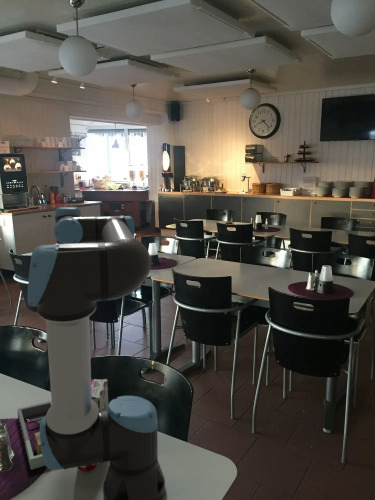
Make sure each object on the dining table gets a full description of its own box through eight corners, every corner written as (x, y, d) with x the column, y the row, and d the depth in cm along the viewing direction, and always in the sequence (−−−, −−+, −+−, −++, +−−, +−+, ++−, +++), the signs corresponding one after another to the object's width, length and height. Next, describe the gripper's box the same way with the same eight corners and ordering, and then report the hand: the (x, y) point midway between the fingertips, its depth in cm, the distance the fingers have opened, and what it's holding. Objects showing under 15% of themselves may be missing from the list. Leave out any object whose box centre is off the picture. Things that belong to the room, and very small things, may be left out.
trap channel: (72, 457, 118) (72, 447, 117) (30, 469, 113) (30, 459, 112) (53, 408, 142) (52, 400, 142) (18, 417, 137) (17, 408, 136)
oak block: (61, 454, 119) (60, 438, 118) (39, 461, 116) (38, 444, 115) (57, 443, 124) (56, 427, 123) (35, 449, 121) (34, 433, 120)
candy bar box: (93, 427, 132) (91, 378, 129) (109, 428, 131) (108, 378, 129) (84, 450, 120) (82, 397, 118) (101, 451, 120) (100, 397, 118)
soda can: (90, 458, 117) (89, 418, 115) (101, 467, 114) (99, 426, 112) (73, 467, 114) (71, 426, 112) (84, 476, 110) (82, 434, 108)
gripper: (53, 255, 135) (57, 326, 139) (62, 262, 124) (65, 339, 128) (77, 253, 138) (79, 322, 142) (87, 260, 127) (90, 335, 131)
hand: (73, 330), depth 135 cm, fingers closed
